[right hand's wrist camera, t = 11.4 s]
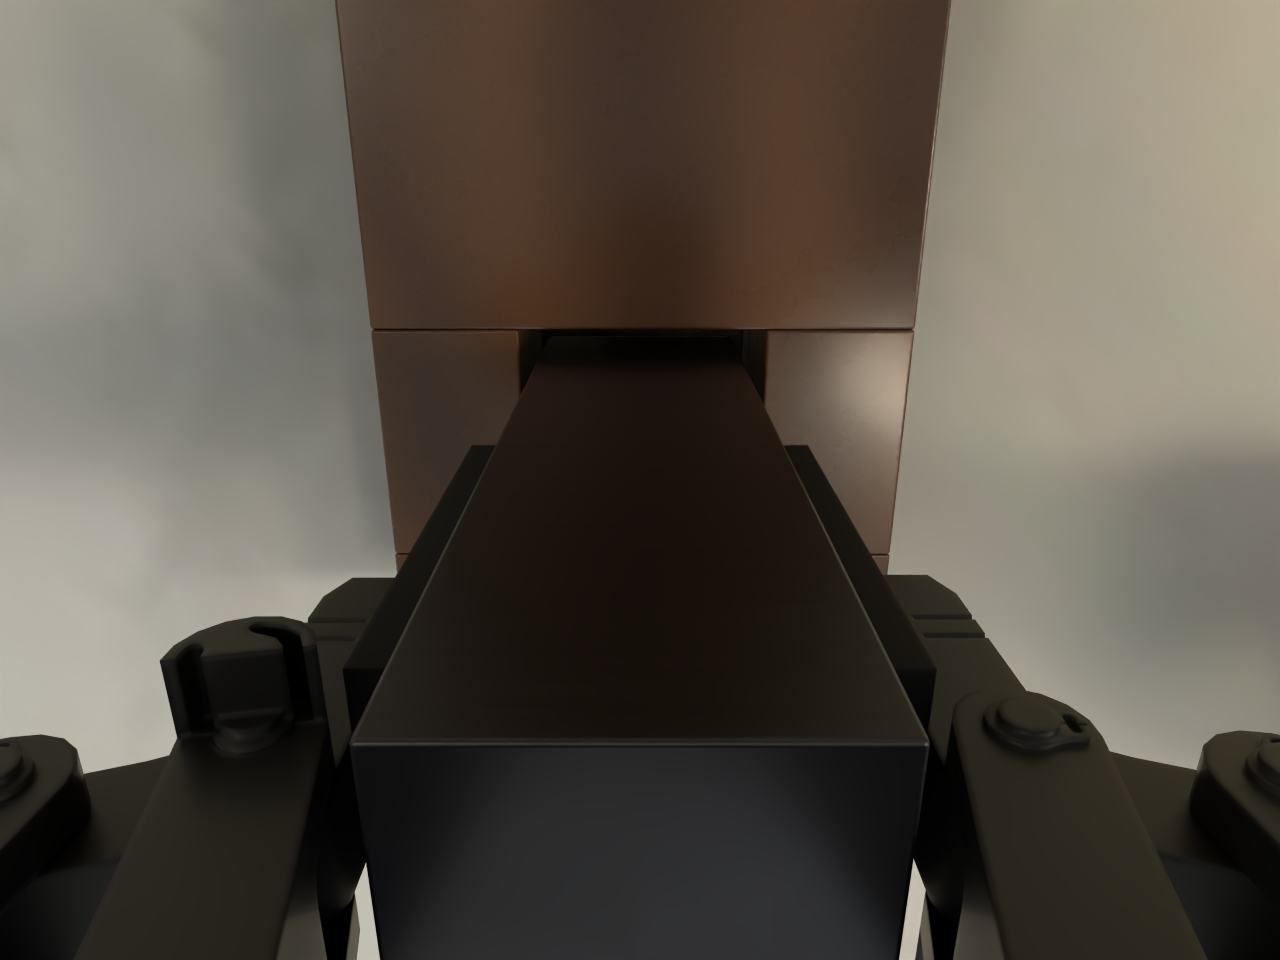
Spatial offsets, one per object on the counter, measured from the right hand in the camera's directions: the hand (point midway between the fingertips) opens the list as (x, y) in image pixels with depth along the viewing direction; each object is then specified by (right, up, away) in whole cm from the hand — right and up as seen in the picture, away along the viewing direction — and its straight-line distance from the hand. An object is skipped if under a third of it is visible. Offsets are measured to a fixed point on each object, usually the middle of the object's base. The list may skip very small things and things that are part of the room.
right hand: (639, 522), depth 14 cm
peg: (0, +2, +5) cm, 6 cm away
